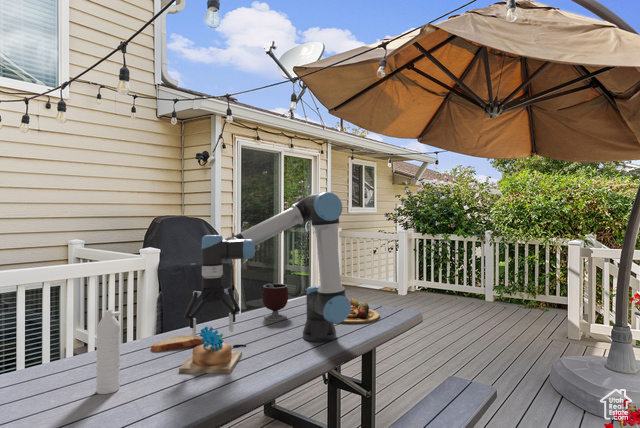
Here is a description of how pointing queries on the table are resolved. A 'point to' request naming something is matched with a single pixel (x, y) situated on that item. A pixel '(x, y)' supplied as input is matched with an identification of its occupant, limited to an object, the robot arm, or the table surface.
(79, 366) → the table surface
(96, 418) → the table surface
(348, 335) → the table surface
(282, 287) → the mate gourd
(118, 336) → the water bottle
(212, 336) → the gear
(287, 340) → the table surface
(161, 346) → the slice of bread
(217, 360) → the bread on wooden board
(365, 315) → the wooden plate with food
